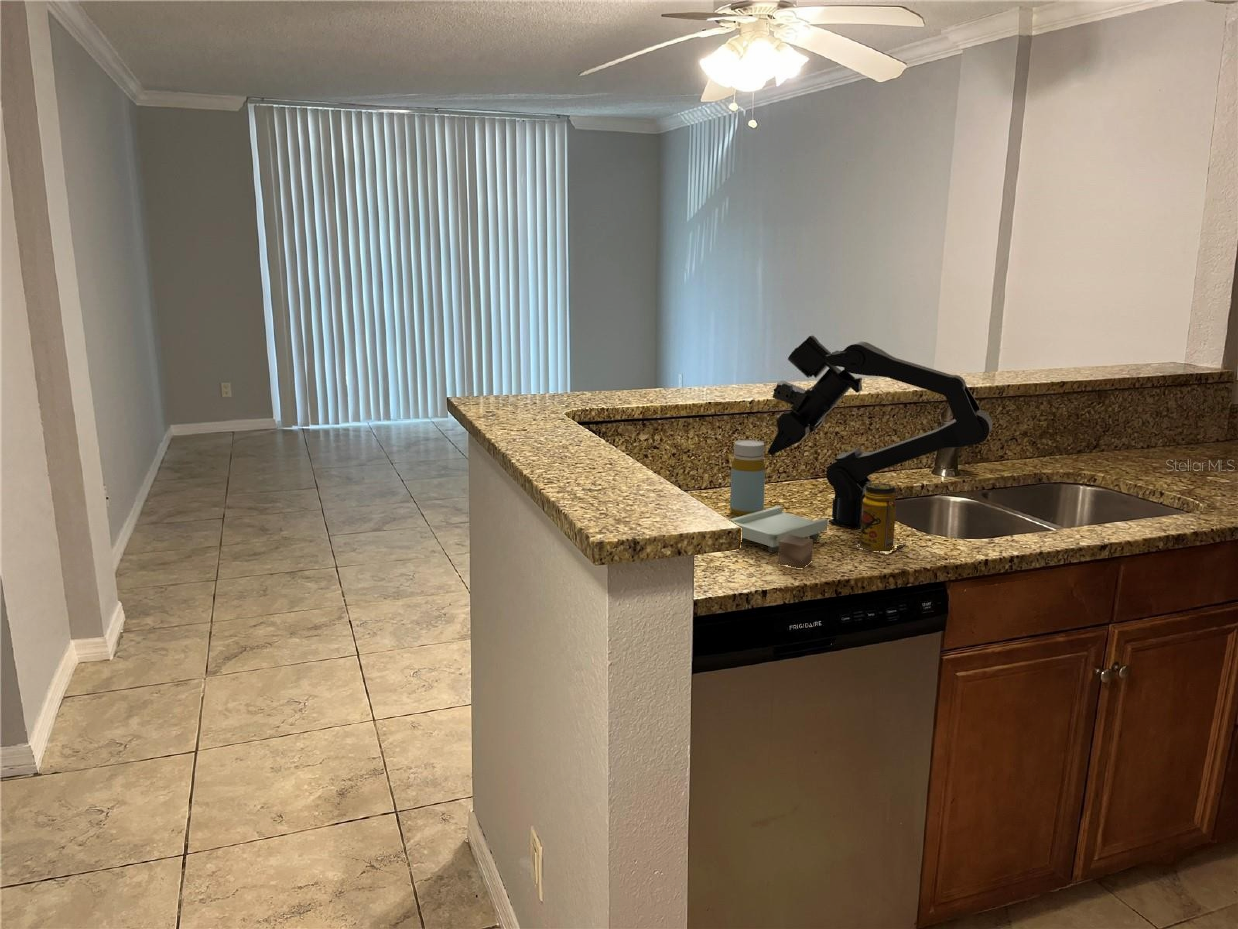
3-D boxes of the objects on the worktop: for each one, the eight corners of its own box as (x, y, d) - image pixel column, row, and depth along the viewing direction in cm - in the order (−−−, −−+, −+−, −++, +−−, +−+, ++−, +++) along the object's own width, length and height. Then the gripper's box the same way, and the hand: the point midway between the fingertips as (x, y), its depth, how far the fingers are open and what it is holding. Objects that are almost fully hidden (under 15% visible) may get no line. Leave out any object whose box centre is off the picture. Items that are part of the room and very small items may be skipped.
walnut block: (811, 563, 164) (813, 539, 163) (801, 570, 161) (803, 546, 160) (788, 558, 167) (789, 534, 166) (777, 565, 163) (778, 541, 162)
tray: (826, 539, 178) (827, 519, 177) (772, 556, 167) (773, 535, 166) (777, 525, 186) (778, 505, 185) (723, 540, 176) (724, 520, 175)
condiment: (850, 548, 173) (854, 485, 170) (870, 537, 179) (875, 477, 176) (887, 556, 168) (892, 492, 165) (906, 545, 174) (911, 483, 172)
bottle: (762, 518, 191) (765, 447, 187) (728, 516, 192) (730, 445, 189) (764, 509, 198) (767, 440, 194) (731, 507, 199) (733, 438, 195)
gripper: (806, 361, 194) (759, 415, 200) (783, 372, 177) (733, 430, 184) (846, 397, 192) (797, 450, 199) (827, 411, 175) (774, 468, 182)
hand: (775, 449), depth 191 cm, fingers open, 9 cm apart
